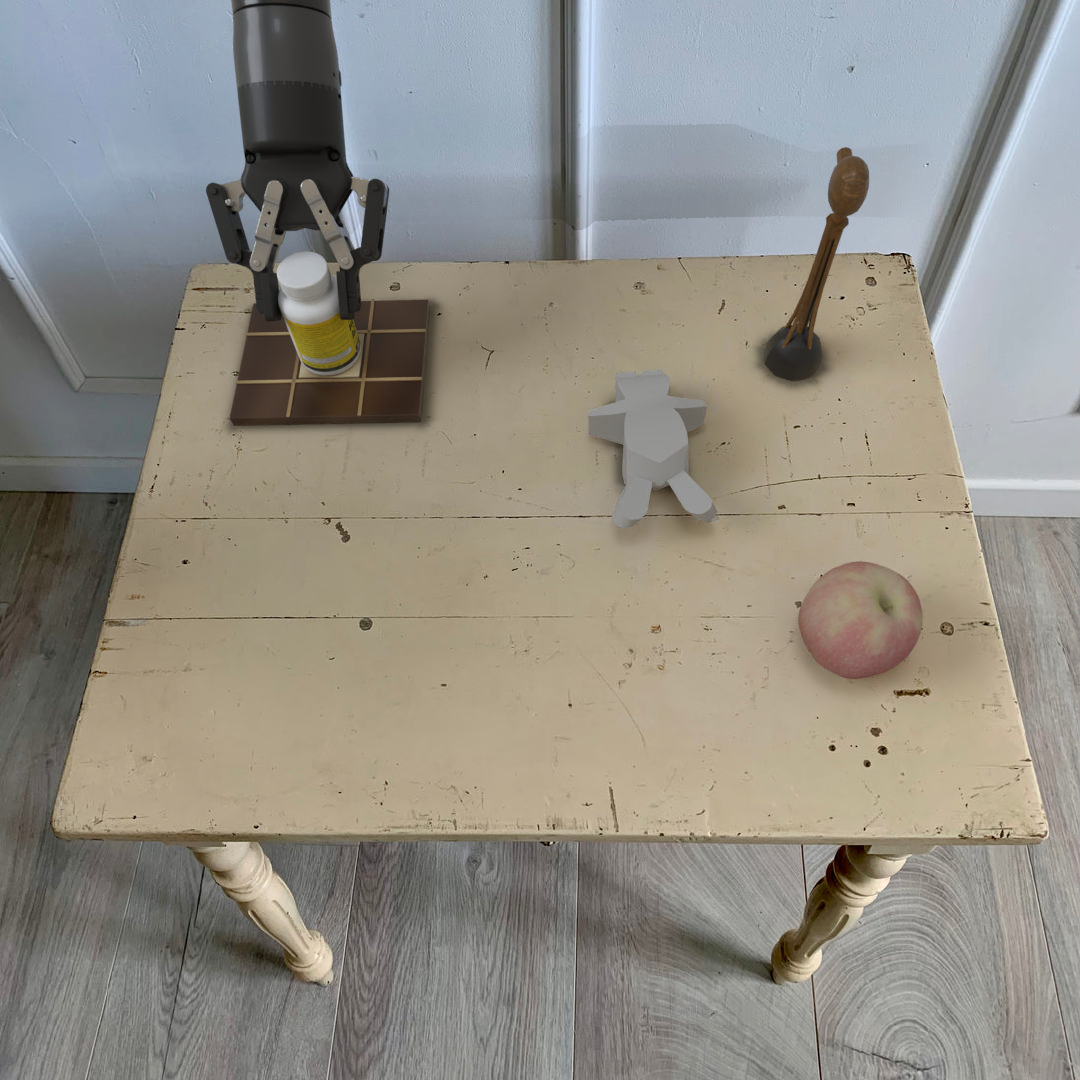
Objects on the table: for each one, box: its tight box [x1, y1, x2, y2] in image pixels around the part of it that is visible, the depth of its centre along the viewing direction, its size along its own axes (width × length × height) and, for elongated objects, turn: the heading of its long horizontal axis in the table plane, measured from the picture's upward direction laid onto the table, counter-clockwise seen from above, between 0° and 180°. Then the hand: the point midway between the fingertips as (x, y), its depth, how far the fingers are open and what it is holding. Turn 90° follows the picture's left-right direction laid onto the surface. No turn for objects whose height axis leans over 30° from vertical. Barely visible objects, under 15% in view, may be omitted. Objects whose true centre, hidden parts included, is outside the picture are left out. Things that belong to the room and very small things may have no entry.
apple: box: [797, 560, 924, 680], centre depth 61 cm, size 8×8×8 cm
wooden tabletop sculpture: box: [763, 146, 870, 382], centre depth 68 cm, size 6×5×20 cm
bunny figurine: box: [587, 368, 718, 529], centre depth 70 cm, size 10×5×15 cm
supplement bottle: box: [276, 250, 361, 376], centre depth 73 cm, size 5×5×10 cm
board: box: [229, 298, 431, 426], centre depth 78 cm, size 16×13×1 cm
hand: (311, 319), depth 71 cm, fingers closed on supplement bottle, 5 cm apart
